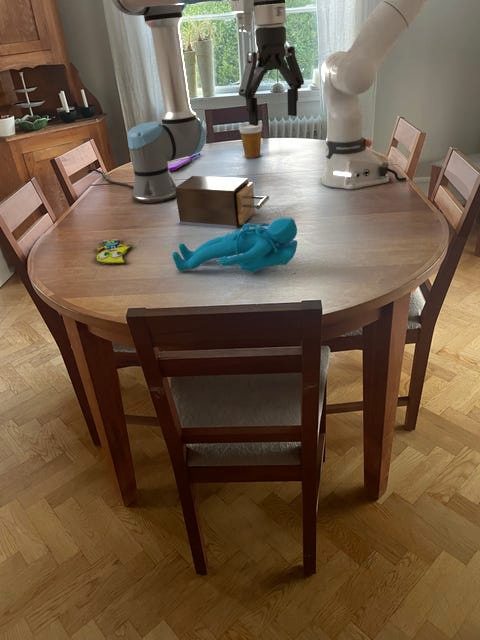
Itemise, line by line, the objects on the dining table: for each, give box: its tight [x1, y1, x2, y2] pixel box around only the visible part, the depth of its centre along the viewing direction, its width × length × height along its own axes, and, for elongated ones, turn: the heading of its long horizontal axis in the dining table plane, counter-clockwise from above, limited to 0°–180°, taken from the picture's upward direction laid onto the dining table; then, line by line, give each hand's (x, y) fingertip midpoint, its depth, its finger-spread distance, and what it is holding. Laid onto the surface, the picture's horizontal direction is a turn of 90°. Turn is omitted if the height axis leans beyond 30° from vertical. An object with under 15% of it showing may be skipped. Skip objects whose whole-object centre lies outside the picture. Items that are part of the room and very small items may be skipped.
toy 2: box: [171, 217, 298, 274], centre depth 113 cm, size 17×11×30 cm
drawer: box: [235, 181, 270, 226], centre depth 140 cm, size 22×10×9 cm, turn 68°
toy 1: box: [95, 238, 133, 265], centre depth 129 cm, size 10×1×15 cm
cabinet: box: [175, 175, 249, 229], centre depth 142 cm, size 18×11×11 cm, turn 68°
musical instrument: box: [168, 152, 202, 172], centre depth 200 cm, size 24×2×20 cm
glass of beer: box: [239, 123, 263, 159], centre depth 199 cm, size 10×10×12 cm
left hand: (273, 120), depth 127 cm, fingers open, 13 cm apart
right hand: (244, 31), depth 136 cm, fingers open, 8 cm apart
